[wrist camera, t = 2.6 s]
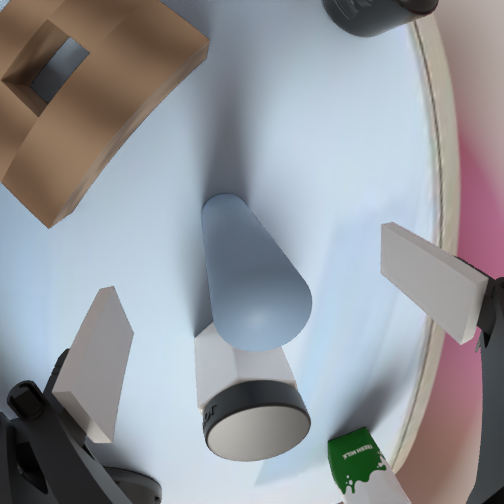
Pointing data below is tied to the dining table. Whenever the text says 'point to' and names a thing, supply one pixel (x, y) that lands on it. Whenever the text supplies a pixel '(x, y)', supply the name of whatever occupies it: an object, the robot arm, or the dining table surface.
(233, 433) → the jar
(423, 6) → the supplement bottle
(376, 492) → the milk carton
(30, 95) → the socket block
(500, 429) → the robot arm
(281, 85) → the dining table surface
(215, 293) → the dowel
